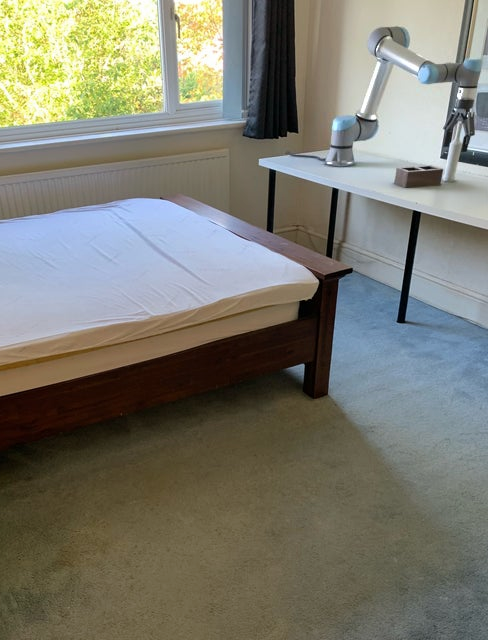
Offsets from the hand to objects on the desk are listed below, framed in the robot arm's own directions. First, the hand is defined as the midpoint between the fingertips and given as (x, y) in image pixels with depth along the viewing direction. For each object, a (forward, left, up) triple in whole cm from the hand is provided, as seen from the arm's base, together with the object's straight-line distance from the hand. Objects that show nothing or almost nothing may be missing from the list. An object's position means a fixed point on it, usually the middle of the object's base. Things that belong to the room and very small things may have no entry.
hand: (454, 149), depth 274 cm
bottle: (0, 0, -14) cm, 14 cm away
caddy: (+2, -18, -14) cm, 23 cm away
